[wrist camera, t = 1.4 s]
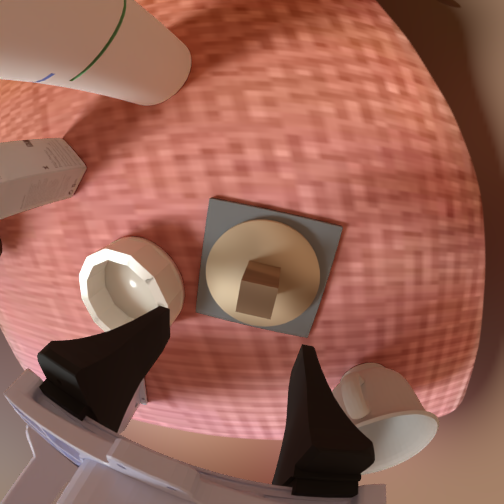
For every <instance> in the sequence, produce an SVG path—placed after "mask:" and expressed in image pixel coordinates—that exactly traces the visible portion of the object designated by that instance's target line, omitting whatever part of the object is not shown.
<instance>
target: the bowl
mask: <svg viewBox="0 0 504 504" xmlns="http://www.w3.org/2000/svg"><path fill="white" fill-rule="evenodd" d="M79 280H80V288H81V296H82V300H83V302H84V304H85V306H86V308H87V310H88V312H89V313H90V315H91V317H92V319H93V321H94V322H95V323H96V324H97V325H98V326H99V327H100V328H101V329H102V330H103V331H105V332H107V331H110V330H112V329H115V328H117V327H119V326H122V325H124V324H126V323H128V322H130V321H132V320H134V319H136V318H138V317H140V316H142V315H144V314H146V313H147V312H149V311H151V310H153V309H155V308H157V307H158V306H163V307H166V308H169V309H170V326H171V325H172V323H173V322H174V321H175V319H176V318H177V316H178V315H179V313H180V312H181V310H182V307H183V304H184V298H185V290H184V284H183V280H182V277H181V274H180V272H179V270H178V268H177V266H176V264H175V263H174V261H173V260H172V259H171V257H170V256H169V255H168V254H167V253H166V252H165V251H164V250H163V249H162V248H160V247H159V246H158V245H156V244H155V243H153V242H151V241H149V240H147V239H144V238H141V237H135V236H128V237H123V238H120V239H118V240H116V241H114V242H112V243H111V244H109V245H107V246H105V247H103V248H102V249H100V250H98V251H96V252H94V253H93V254H91V255H89V256H87V258H86V260H85V263H84V265H83V267H82V270H81V272H80V274H79Z"/></svg>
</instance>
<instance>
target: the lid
mask: <svg viewBox="0 0 504 504" xmlns="http://www.w3.org/2000/svg"><path fill="white" fill-rule="evenodd" d="M206 280H207V285H208V288H209V290H210V293H211V295H212V297H213V298H214V300H215V301H216V303H217V304H218V305H219V306H220V307H221V309H223V310H224V311H225V312H226V313H227V314H229V315H230V316H231V317H233V318H235V319H237V320H238V321H241V322H243V323H246V324H250V325H254V326H264V327H266V326H276V325H281V324H284V323H287V322H289V321H292V320H293V319H295V318H297V317H298V316H300V315H301V314H302V313H303V312H304V311H305V310H306V309H307V308H308V307H309V306H310V305H311V303H312V302H313V300H314V298H315V296H316V294H317V291H318V288H319V284H320V269H319V264H318V260H317V257H316V254H315V252H314V250H313V248H312V246H311V245H310V243H309V242H308V240H307V239H306V238H305V237H304V236H303V235H302V234H301V233H299V232H298V231H297V230H296V229H294V228H292V227H291V226H289V225H286V224H284V223H282V222H278V221H275V220H268V219H255V220H249V221H245V222H242V223H239V224H237V225H235V226H233V227H232V228H230V229H229V230H227V231H226V232H225V233H224V234H223V235H222V236H221V237H220V238H219V239H218V240H217V241H216V243H215V244H214V245H213V247H212V249H211V251H210V253H209V256H208V259H207V263H206Z"/></svg>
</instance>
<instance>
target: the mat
mask: <svg viewBox="0 0 504 504" xmlns="http://www.w3.org/2000/svg"><path fill="white" fill-rule="evenodd" d="M255 219H268V220H275V221H278V222H282V223H284V224H286V225H289V226H291V227H292V228H294V229H296V230H297V231H298V232H299V233H301V234H302V235H303V236H304V237H305V238H306V239H307V240H308V242H309V243H310V245H311V246H312V248H313V250H314V252H315V254H316V257H317V260H318V264H319V269H320V284H319V288H318V291H317V294H316V296H315V298H314V300H313V302H312V303H311V305H310V306H309V307H308V308H307V309H306V310H305V311H304V312H303V313H302V314H301V315H300V316H298V317H297V318H295V319H293V320H292V321H289V322H287V323H284V324H281V325H276V326H266V327H264V326H254V325H250V324H246V323H243V322H241V321H238V320H237V319H235V318H233V317H231V316H230V315H229V314H227V313H226V312H225V311H224V310H223V309H221V307H220V306H219V305H218V304H217V303H216V301H215V300H214V298H213V297H212V295H211V293H210V290H209V288H208V285H207V280H206V263H207V259H208V256H209V253H210V251H211V249H212V247H213V245H214V244H215V243H216V241H217V240H218V239H219V238H220V237H221V236H222V235H223V234H224V233H225V232H226V231H227V230H229V229H230V228H232V227H233V226H235V225H237V224H239V223H242V222H245V221H249V220H255ZM342 229H343V227H342V226H339V225H335V224H331V223H327V222H323V221H319V220H315V219H310V218H306V217H302V216H297V215H293V214H288V213H284V212H279V211H275V210H270V209H266V208H261V207H256V206H251V205H246V204H241V203H236V202H231V201H226V200H221V199H216V198H210V199H209V206H208V212H207V219H206V227H205V234H204V242H203V250H202V258H201V266H200V275H199V284H198V294H197V304H196V312H197V313H201V314H204V315H208V316H212V317H216V318H220V319H224V320H228V321H232V322H236V323H240V324H244V325H248V326H253V327H257V328H262V329H266V330H271V331H276V332H280V333H285V334H290V335H295V336H300V337H306V338H308V335H309V332H310V329H311V327H312V324H313V321H314V318H315V315H316V313H317V310H318V307H319V304H320V301H321V298H322V295H323V292H324V289H325V286H326V283H327V280H328V276H329V273H330V270H331V267H332V263H333V260H334V257H335V253H336V250H337V246H338V243H339V239H340V236H341V232H342Z"/></svg>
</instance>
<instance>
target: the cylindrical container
mask: <svg viewBox="0 0 504 504" xmlns="http://www.w3.org/2000/svg"><path fill="white" fill-rule="evenodd" d="M190 69H191V54H190V52H189V50H188V48H187V47H186V45H185V44H184V43H183V42H182V41H181V40H180V39H178V38H177V37H176V36H175V35H174V34H173V33H172V32H171V31H170V30H169V29H167V28H166V27H165V26H164V25H163V24H162V23H161V22H160V21H158V20H157V19H156V18H155V17H154V16H153V15H151V14H150V13H149V12H148V11H147V10H145V9H144V8H143V7H142V6H141V5H139V4H138V3H137V2H136V1H134V0H0V79H6V80H17V81H26V82H34V83H42V84H48V85H55V86H61V87H67V88H72V89H77V90H82V91H87V92H92V93H96V94H100V95H105V96H109V97H113V98H117V99H120V100H124V101H128V102H131V103H135V104H138V105H143V106H151V105H156V104H159V103H161V102H164V101H166V100H167V99H169V98H171V97H172V96H173V95H174V94H175V93H177V92H178V90H179V89H180V88H181V87H182V86H183V84H184V83H185V81H186V80H187V78H188V75H189V73H190Z"/></svg>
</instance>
